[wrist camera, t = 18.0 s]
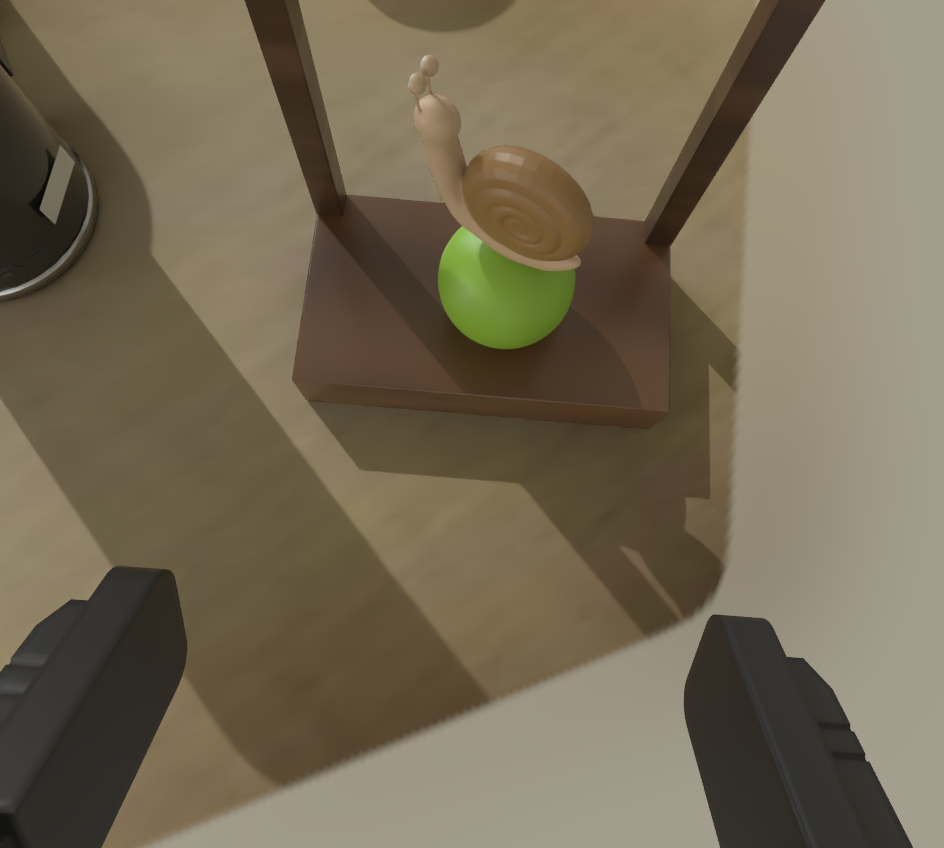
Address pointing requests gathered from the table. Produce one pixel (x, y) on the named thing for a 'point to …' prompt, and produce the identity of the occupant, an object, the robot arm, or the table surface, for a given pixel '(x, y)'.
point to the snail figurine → (501, 230)
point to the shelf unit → (432, 226)
